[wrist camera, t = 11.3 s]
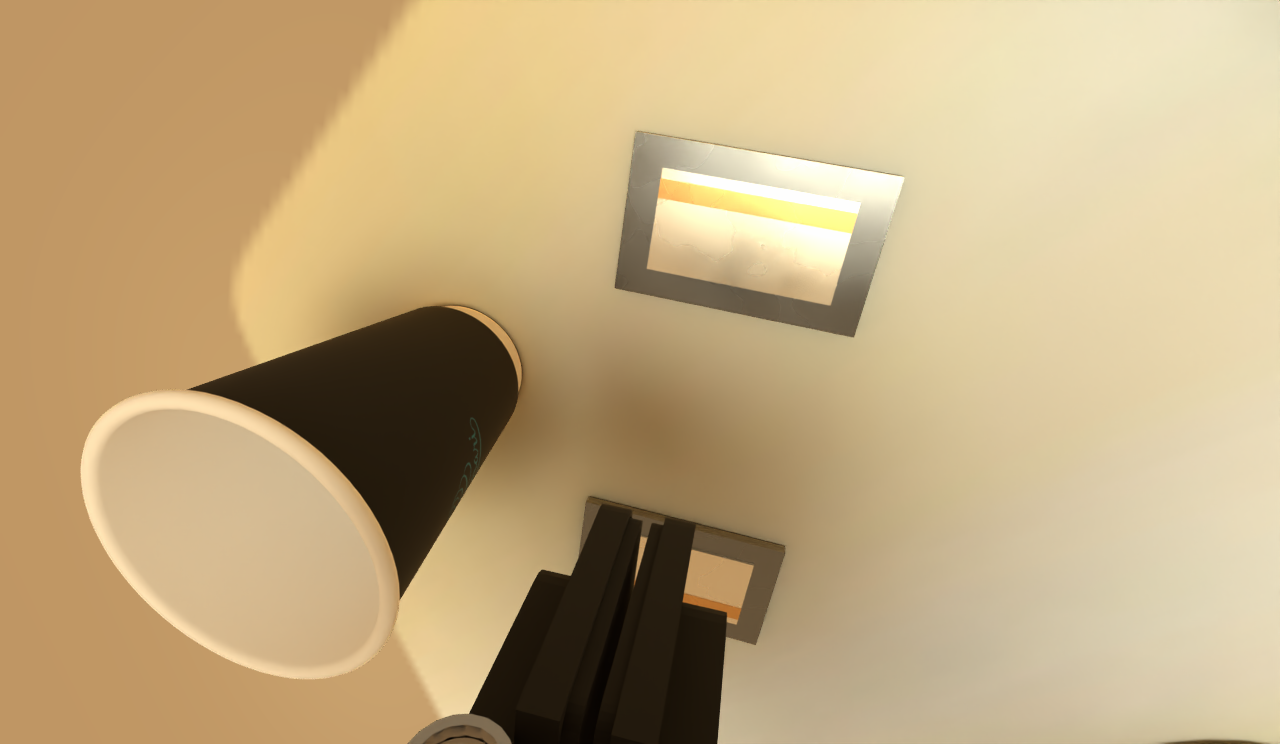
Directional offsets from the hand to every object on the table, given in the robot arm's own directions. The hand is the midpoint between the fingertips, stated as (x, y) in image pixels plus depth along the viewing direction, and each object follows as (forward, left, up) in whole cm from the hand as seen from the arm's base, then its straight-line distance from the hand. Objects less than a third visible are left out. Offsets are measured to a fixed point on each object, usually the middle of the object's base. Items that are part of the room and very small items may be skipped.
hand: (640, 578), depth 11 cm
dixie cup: (+9, +3, -12) cm, 15 cm away
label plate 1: (-1, -4, -12) cm, 12 cm away
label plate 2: (-1, +10, -12) cm, 15 cm away
